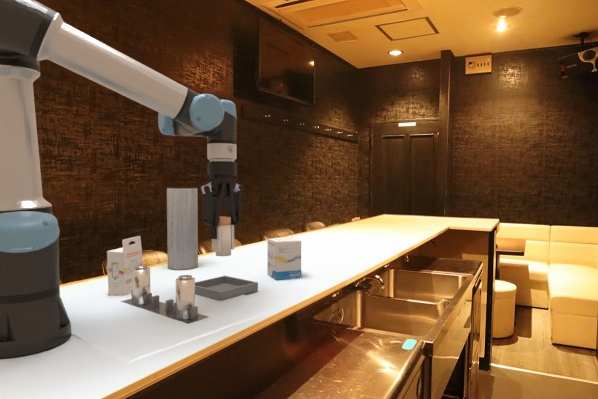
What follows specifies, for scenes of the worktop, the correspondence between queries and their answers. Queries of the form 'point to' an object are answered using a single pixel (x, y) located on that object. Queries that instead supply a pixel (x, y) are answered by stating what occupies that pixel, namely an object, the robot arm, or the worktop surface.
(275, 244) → the ink box
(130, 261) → the ink cartridge box
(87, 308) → the worktop surface
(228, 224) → the cylinder
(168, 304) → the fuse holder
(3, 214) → the robot arm
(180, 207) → the vase
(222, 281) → the tray
